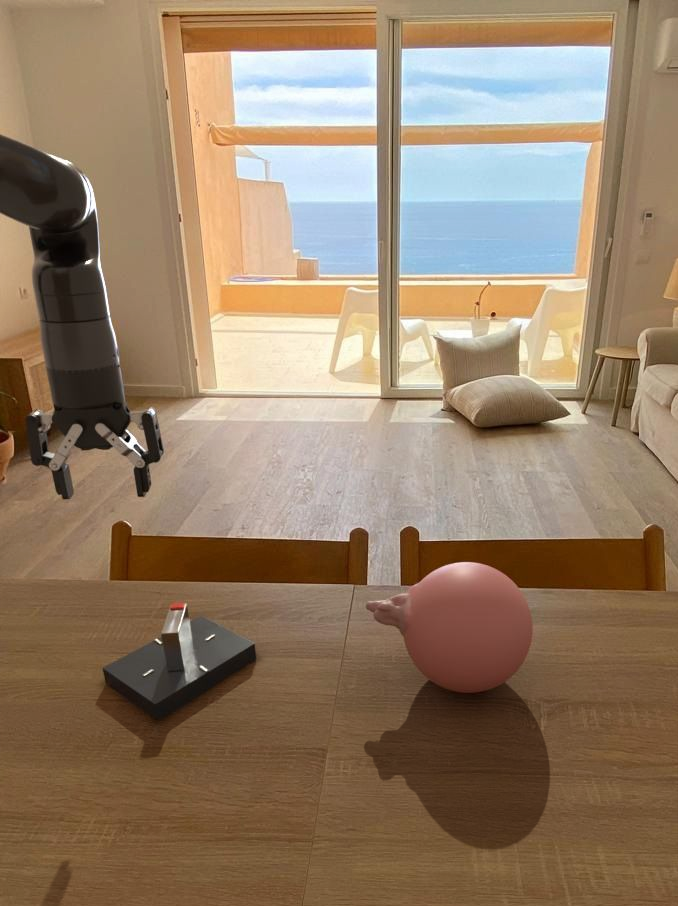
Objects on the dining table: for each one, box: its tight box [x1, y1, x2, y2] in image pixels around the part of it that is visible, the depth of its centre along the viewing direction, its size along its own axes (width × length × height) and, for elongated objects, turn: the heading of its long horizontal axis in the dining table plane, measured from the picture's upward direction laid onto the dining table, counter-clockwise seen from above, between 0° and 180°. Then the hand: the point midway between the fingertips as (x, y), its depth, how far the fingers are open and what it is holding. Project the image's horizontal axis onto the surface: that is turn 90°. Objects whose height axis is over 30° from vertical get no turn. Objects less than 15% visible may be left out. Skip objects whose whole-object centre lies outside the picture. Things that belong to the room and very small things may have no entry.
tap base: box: [102, 615, 257, 722], centre depth 88 cm, size 15×11×3 cm
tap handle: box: [160, 602, 192, 671], centre depth 86 cm, size 6×2×6 cm, turn 6°
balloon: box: [365, 561, 534, 694], centre depth 84 cm, size 15×20×15 cm
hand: (106, 495), depth 83 cm, fingers open, 8 cm apart
